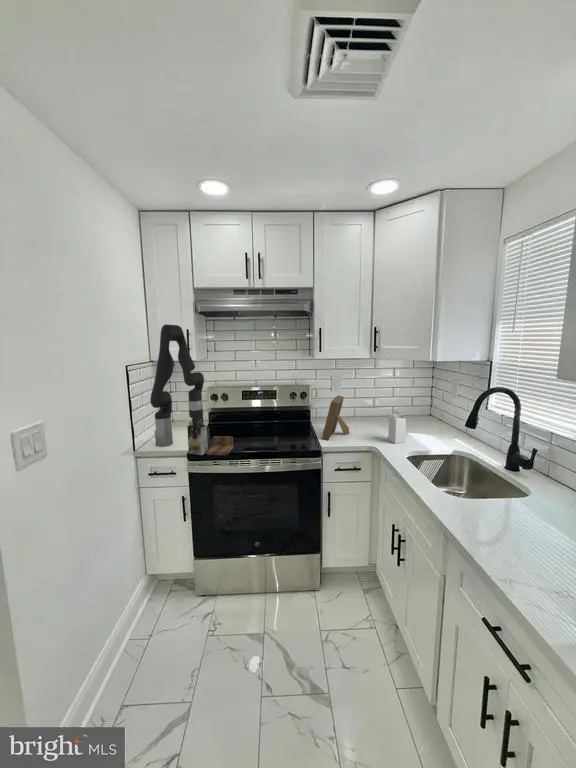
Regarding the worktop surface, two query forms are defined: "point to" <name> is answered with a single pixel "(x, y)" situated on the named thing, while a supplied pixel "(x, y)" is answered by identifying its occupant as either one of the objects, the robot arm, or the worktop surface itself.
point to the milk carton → (397, 427)
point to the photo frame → (334, 419)
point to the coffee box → (198, 440)
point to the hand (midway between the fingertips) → (197, 436)
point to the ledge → (221, 445)
